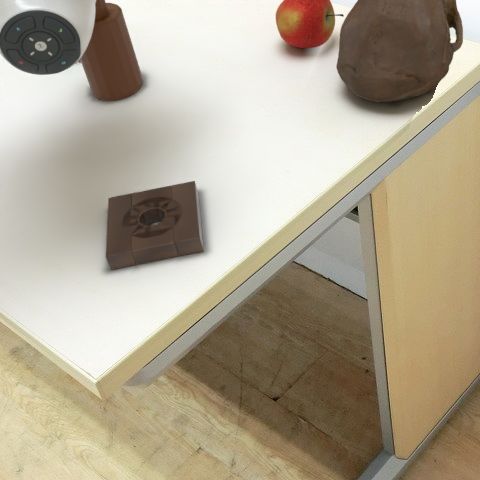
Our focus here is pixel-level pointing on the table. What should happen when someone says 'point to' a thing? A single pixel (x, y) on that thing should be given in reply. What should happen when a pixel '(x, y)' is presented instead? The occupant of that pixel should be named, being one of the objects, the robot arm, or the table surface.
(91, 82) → the bottle
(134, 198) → the dark brown square mat
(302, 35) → the apple
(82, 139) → the table surface
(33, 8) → the robot arm
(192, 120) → the table surface
